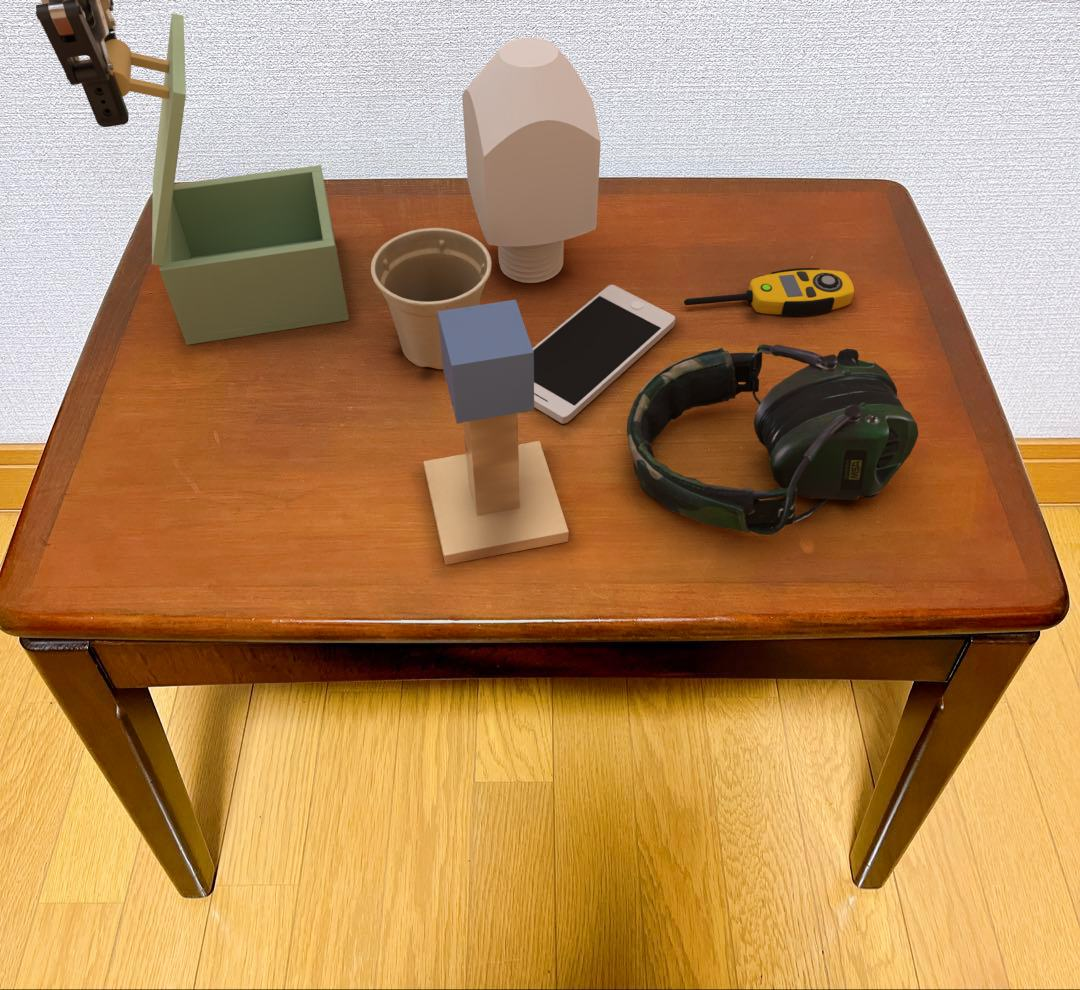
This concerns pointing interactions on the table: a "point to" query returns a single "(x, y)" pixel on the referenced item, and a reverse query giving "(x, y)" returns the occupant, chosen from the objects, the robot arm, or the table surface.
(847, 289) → the yellow walkie talkie
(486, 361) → the block
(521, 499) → the post
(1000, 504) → the table surface
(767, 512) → the headphones
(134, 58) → the lid
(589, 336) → the smartphone
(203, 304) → the chest
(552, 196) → the light fixture
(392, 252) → the flower pot
